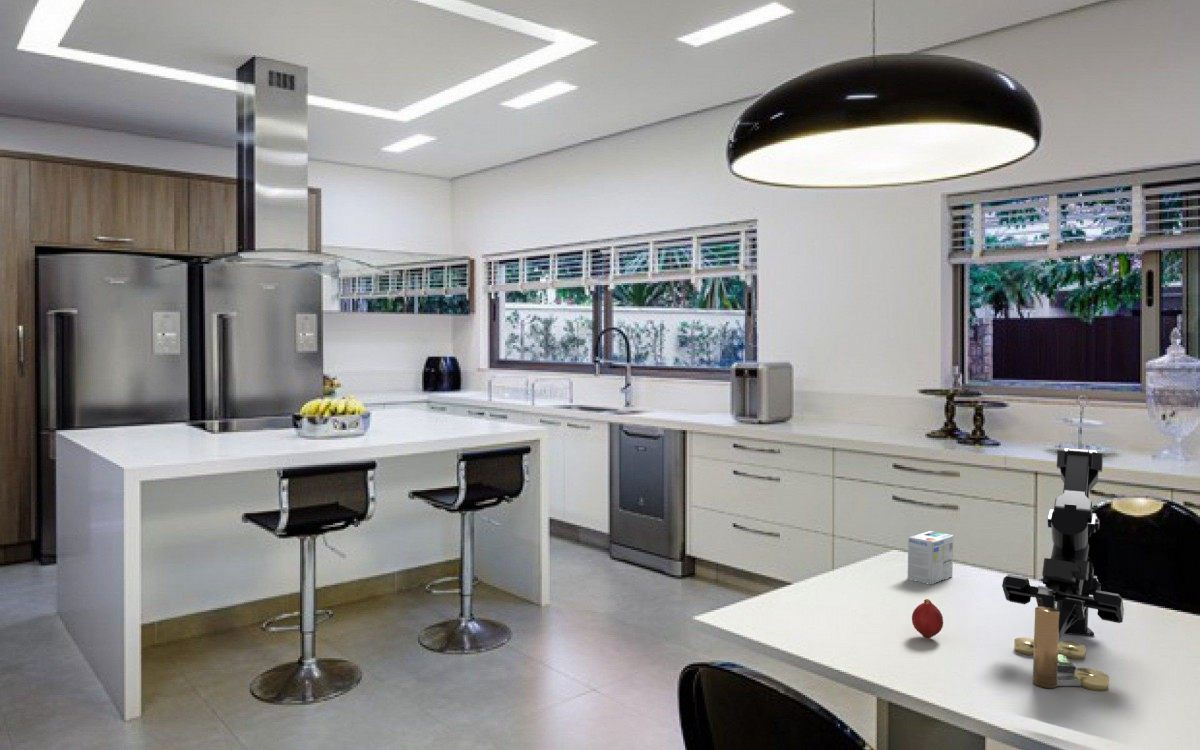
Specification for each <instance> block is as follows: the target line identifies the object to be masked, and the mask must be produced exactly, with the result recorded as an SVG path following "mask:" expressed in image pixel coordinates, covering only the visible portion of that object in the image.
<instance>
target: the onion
mask: <svg viewBox="0 0 1200 750" xmlns="http://www.w3.org/2000/svg"><path fill="white" fill-rule="evenodd" d="M943 618H944V617H943V614H942V613H941V610H940V609H939V608H938V607H937V606H936V605H934V603H932V601H931V600H930V599H929V598H926V599H924V600H923V602H921V603H920V604H918V605H917V606H916V607H915V608H914V610H913V612H912V615H911V623H912V626H913V628H914V630H916V631H917V633H919V634H920V635H921V636H922V637H923V638H924V639H927V640H928V639H930V638H932V637H934V636H936V635H938V634H939V633H940V632H941V631H942V629H943V628H944V619H943Z"/></svg>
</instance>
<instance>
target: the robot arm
mask: <svg viewBox="0 0 1200 750" xmlns="http://www.w3.org/2000/svg"><path fill="white" fill-rule="evenodd" d="M1103 459H1104V455H1103V453H1101V452H1100V453H1099V452H1097V449H1096V450H1095V449H1085V448H1072V447H1071V448H1070V447H1067V448H1066V447H1065V448H1064V449H1062V450H1057V453H1056V469H1058V470H1060V479H1061V481H1062V482H1063V489H1062V491H1063V492H1062V494H1060V495H1058V496H1057V497H1056V498H1055V499H1054V505H1053V508H1050V509H1049V513H1048V518H1047V528H1051V540H1052V542H1053V543H1052V544H1053V545H1052V550H1051V554H1050V555H1051V556H1050V558H1049V557H1044V558H1043V563H1042V564H1043V566H1042V571H1041V572H1042V574H1041V576H1042V580H1041V581H1042V584H1043V585H1044V586H1043V585H1038V586H1033V585H1030V581H1029V578H1028V577H1024V576H1019V575H1013V574H1007V575H1005V576H1004V577H1003V580H1002V584H1001V588H1002V590H1003V594H1004V597H1005V600H1006V601H1008V602H1011V603H1014V604H1020V605H1027V604H1028V603H1031V598H1035V601H1036V604H1037V607H1050V608H1054V609H1056V610H1058V611H1059V639H1060V638H1061V637H1062V636H1063V635H1064V634H1066V635H1067V634H1070V635H1081V636H1082V635H1083V636H1095V632H1094V631H1093V630H1092V629H1091V628H1089V609H1093V610H1097V616H1098V617H1099V618H1100V619H1101V620H1102V621H1107V622H1111V623H1112V622H1113V623H1115V624H1116V623H1117V624H1120V623H1123V621H1124V615H1125V608H1124V599H1123V597H1122V596H1121V595H1120V594H1119V593H1114V592H1108V591H1104V590H1103V591H1102V590H1101V587H1102V586H1101V585H1102V584H1101V583H1100V582H1099V579H1098V576H1097V575H1094V564H1093V562H1092V560H1091V558H1090V557H1089V556H1088V555H1089V550H1090V544H1089V538H1090V537H1091V536H1092V533H1096V531H1097V530H1098V531H1100V518H1098V515H1097V513H1095V512H1093V501H1092V500H1091V499H1089V498H1090V491H1092V489H1093V488H1094V487H1095V486H1096V485H1097V484H1098V482H1099V473H1103V466H1104V465H1103V463H1104V460H1103Z"/></svg>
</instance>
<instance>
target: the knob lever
mask: <svg viewBox="0 0 1200 750" xmlns="http://www.w3.org/2000/svg"><path fill="white" fill-rule="evenodd" d="M1033 632H1034V633H1033V639H1034V656H1032V657H1033V658H1032V659H1033V660H1032V662H1033V663H1032V682H1033V683H1032V684H1034V685H1036V686H1038V687H1041V688H1045V689H1054V688H1057V687H1058V686H1059V687H1061V686H1063V687H1064V686H1065V687H1069V686H1072V687H1080V688H1083V689H1086V690H1090V691H1096V692H1105V691H1107V690H1109V688H1110V686H1109V685H1110V676H1109V675H1108V674H1107V673H1105V672H1103V671H1101V670H1098V669H1095V668H1087V667H1080V668H1079V667H1078V668H1076V669H1075V673H1073V674H1074V675H1072V674H1071V675H1067V674H1065V675H1064V674H1063V675H1058V672H1057V668H1058V642H1059V639H1060V638H1059V611H1058V610H1056V609H1054V608H1050V607H1038V606H1036V607H1035V608H1034V630H1033Z"/></svg>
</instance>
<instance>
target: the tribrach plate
mask: <svg viewBox="0 0 1200 750" xmlns="http://www.w3.org/2000/svg"><path fill="white" fill-rule="evenodd" d="M1013 645H1014V647H1013V649H1014V651H1015V652H1017V653H1018V654H1021V655H1025V656H1030V657H1031V656H1032V657H1033V656H1034V638H1030V637H1029V638H1028V637H1015V639H1014V644H1013ZM1070 659H1072V660H1084V659H1086V646H1085V645H1084V644H1081V643H1078V642H1075V641H1069V640H1061V641H1058V668H1057V673H1068V674H1075V669H1077V667H1076V665H1075V664H1074V663H1073V662H1072V661H1071V660H1070Z"/></svg>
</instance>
